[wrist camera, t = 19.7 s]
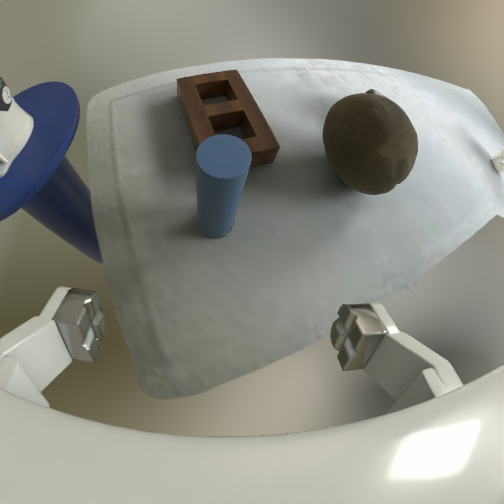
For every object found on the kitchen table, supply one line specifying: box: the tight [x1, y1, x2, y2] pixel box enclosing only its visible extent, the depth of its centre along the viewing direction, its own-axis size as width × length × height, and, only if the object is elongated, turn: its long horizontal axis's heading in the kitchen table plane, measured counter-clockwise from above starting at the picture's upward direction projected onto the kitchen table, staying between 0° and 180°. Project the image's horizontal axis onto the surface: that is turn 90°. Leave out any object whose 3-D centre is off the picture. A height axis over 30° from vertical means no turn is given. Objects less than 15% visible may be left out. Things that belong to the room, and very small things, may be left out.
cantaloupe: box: [323, 93, 418, 195], centre depth 34 cm, size 14×14×15 cm
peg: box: [196, 134, 252, 238], centre depth 28 cm, size 4×4×15 cm
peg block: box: [177, 70, 280, 168], centre depth 38 cm, size 10×18×4 cm, turn 21°
